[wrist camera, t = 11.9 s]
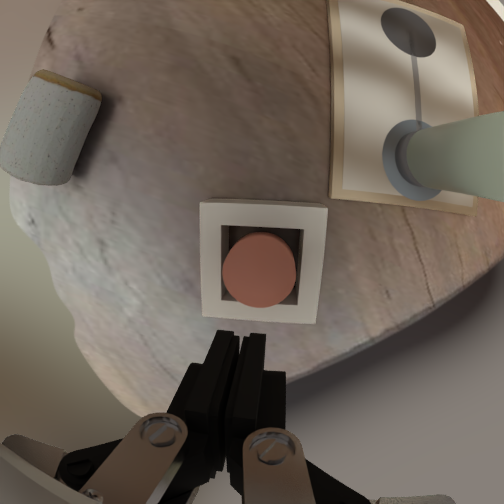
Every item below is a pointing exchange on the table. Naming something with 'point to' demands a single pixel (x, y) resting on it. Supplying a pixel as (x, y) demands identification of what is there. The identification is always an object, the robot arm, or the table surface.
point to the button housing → (262, 215)
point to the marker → (456, 157)
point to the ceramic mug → (48, 129)
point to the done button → (259, 270)
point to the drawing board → (393, 97)
